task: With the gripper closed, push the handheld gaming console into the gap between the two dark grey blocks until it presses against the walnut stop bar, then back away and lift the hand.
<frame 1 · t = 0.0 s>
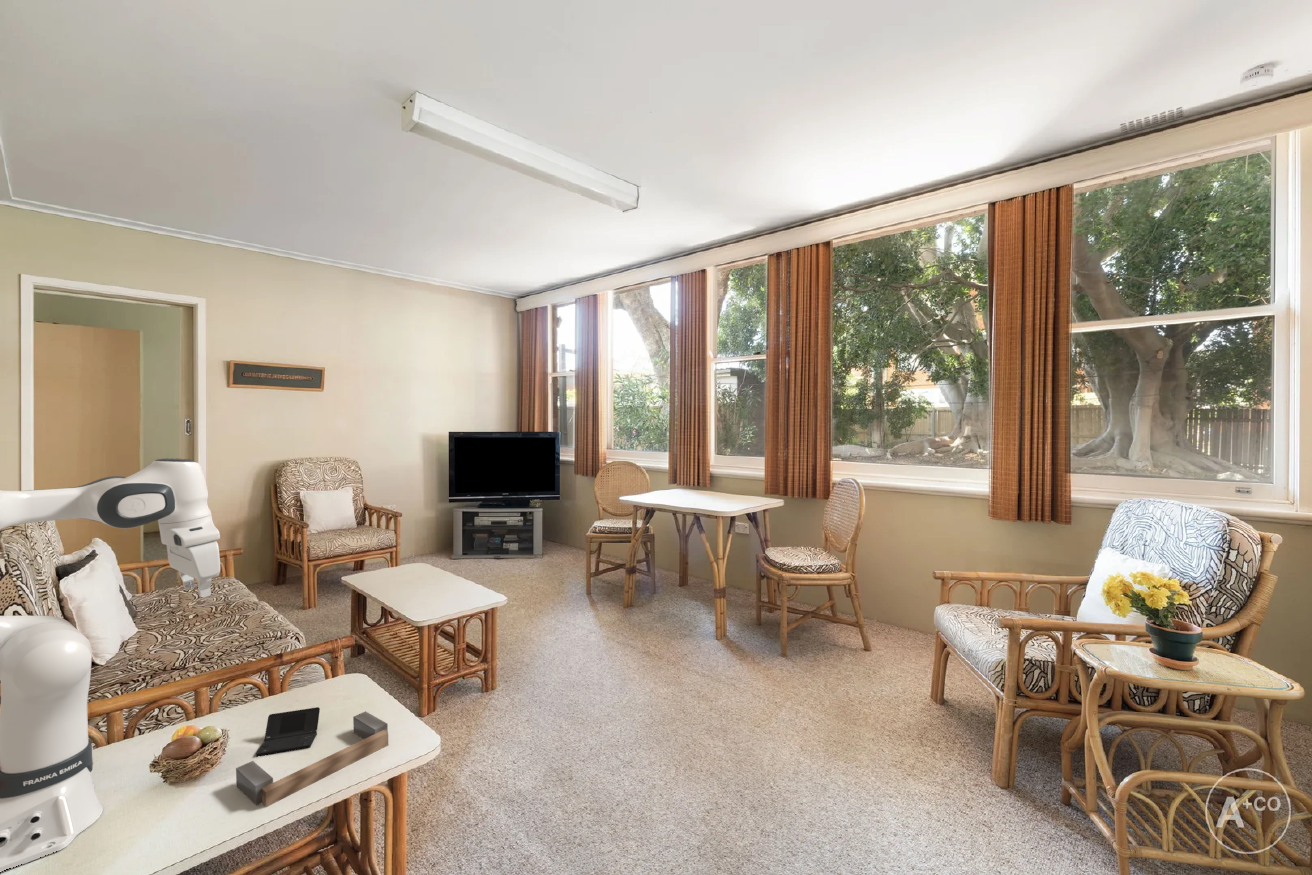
hand: (197, 592, 121), 39 cm above the table, tool pointing down, fingers open, 8 cm apart
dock: (315, 760, 123), on the table
handheld gaming console: (289, 743, 131), on the table
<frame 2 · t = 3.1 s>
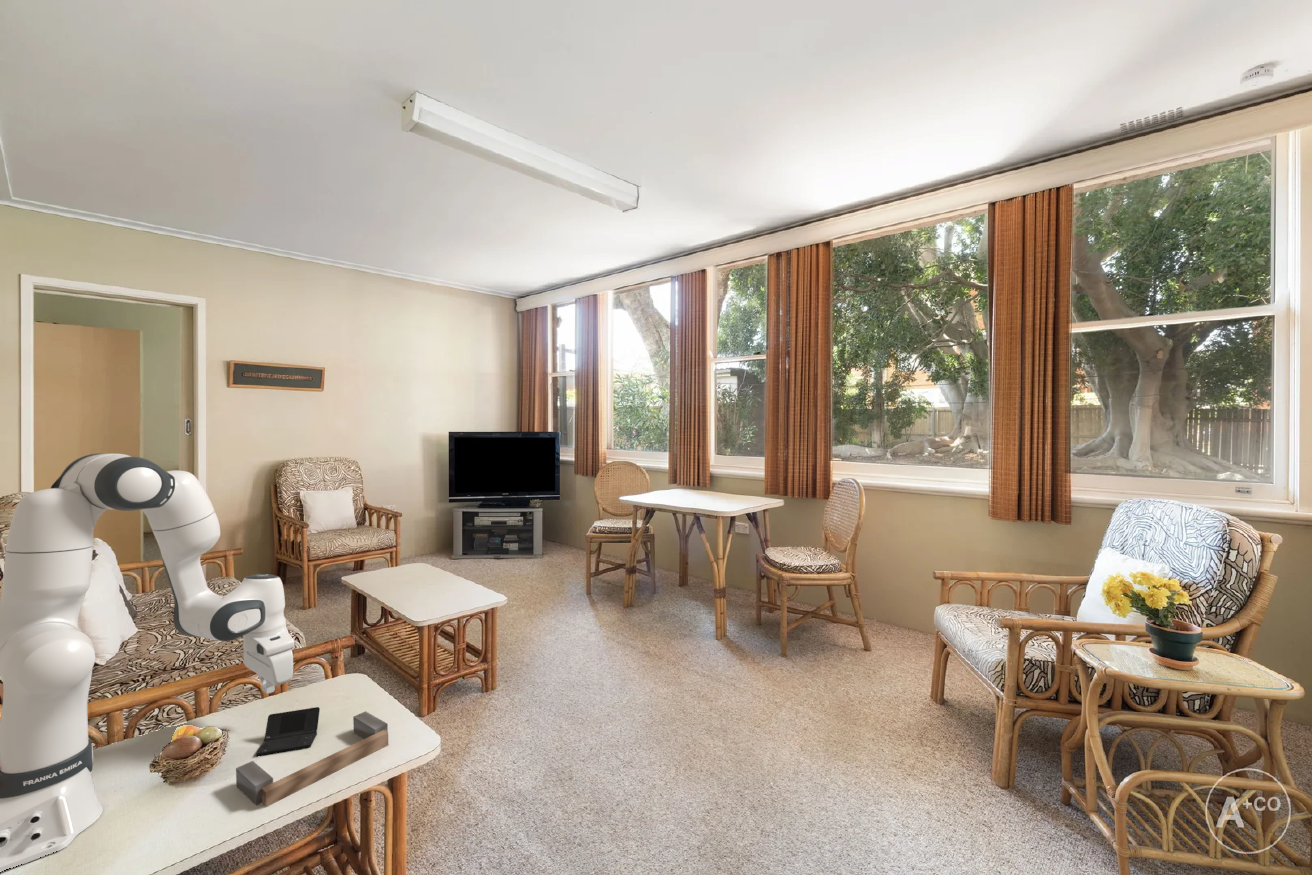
hand: (268, 691, 138), 8 cm above the table, tool pointing down, fingers closed
nothing on the table moved.
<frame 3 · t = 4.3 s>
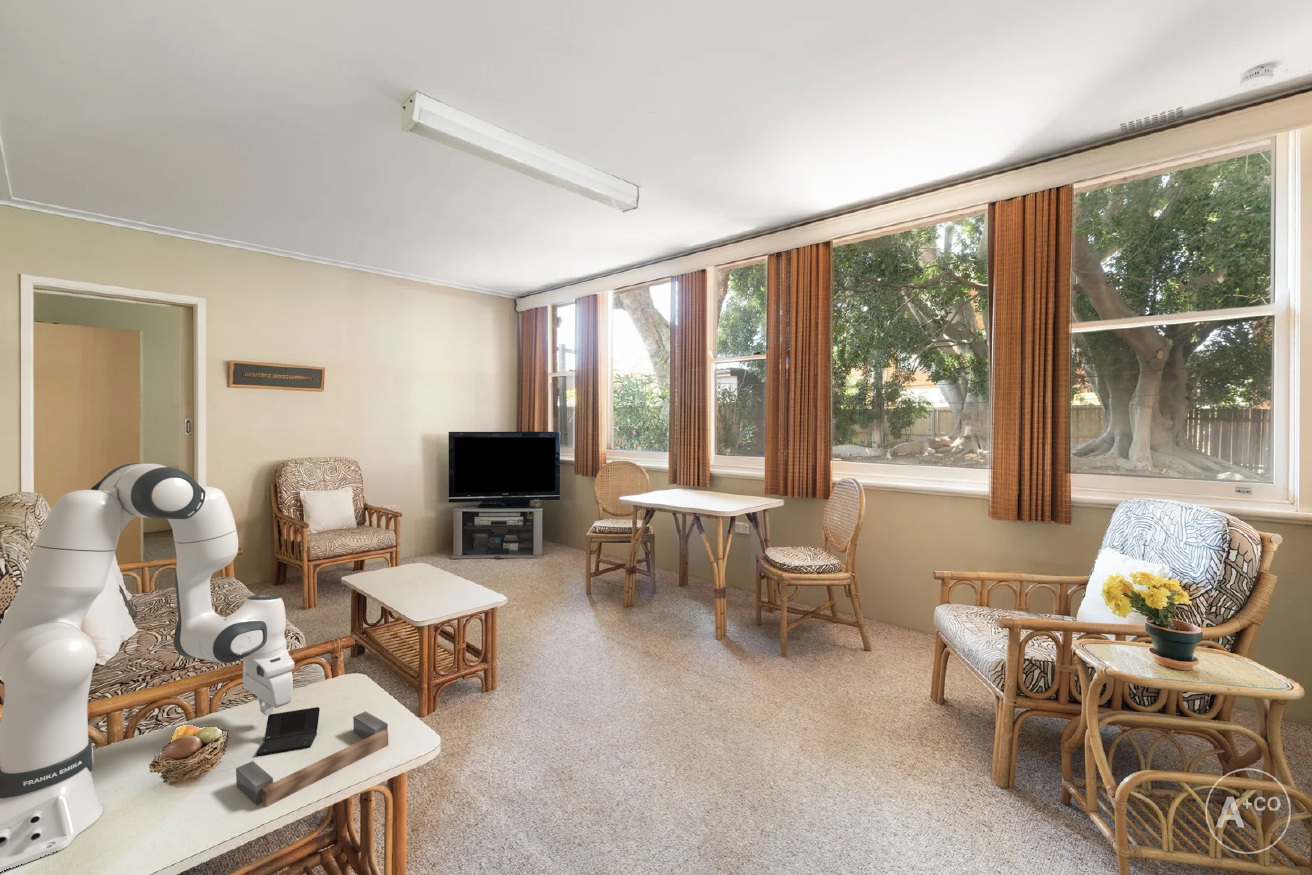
hand: (266, 713, 138), 3 cm above the table, tool pointing down, fingers closed
nothing on the table moved.
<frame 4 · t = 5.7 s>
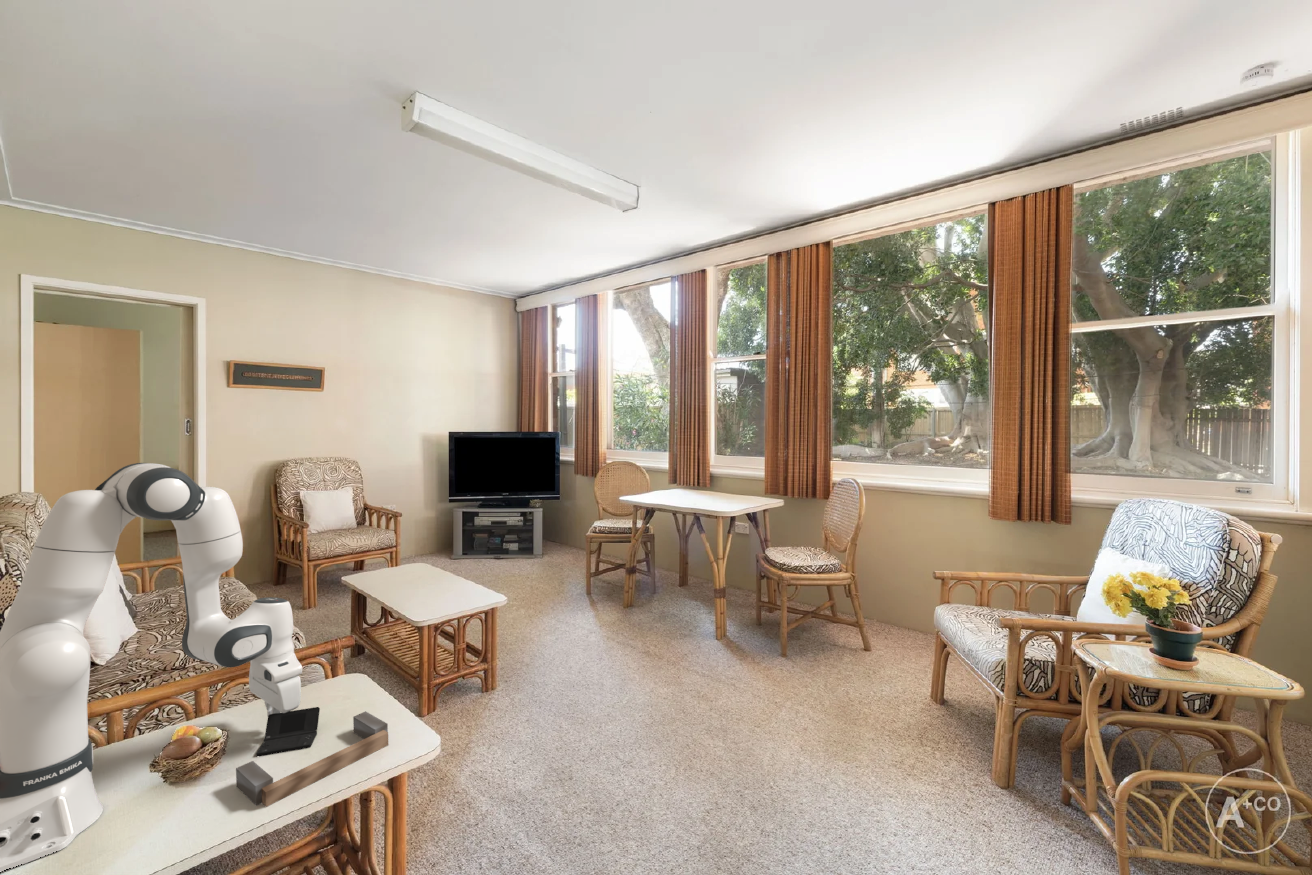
hand: (274, 718, 135), 3 cm above the table, tool pointing down, fingers closed
handheld gaming console: (289, 743, 131), on the table, touching gripper
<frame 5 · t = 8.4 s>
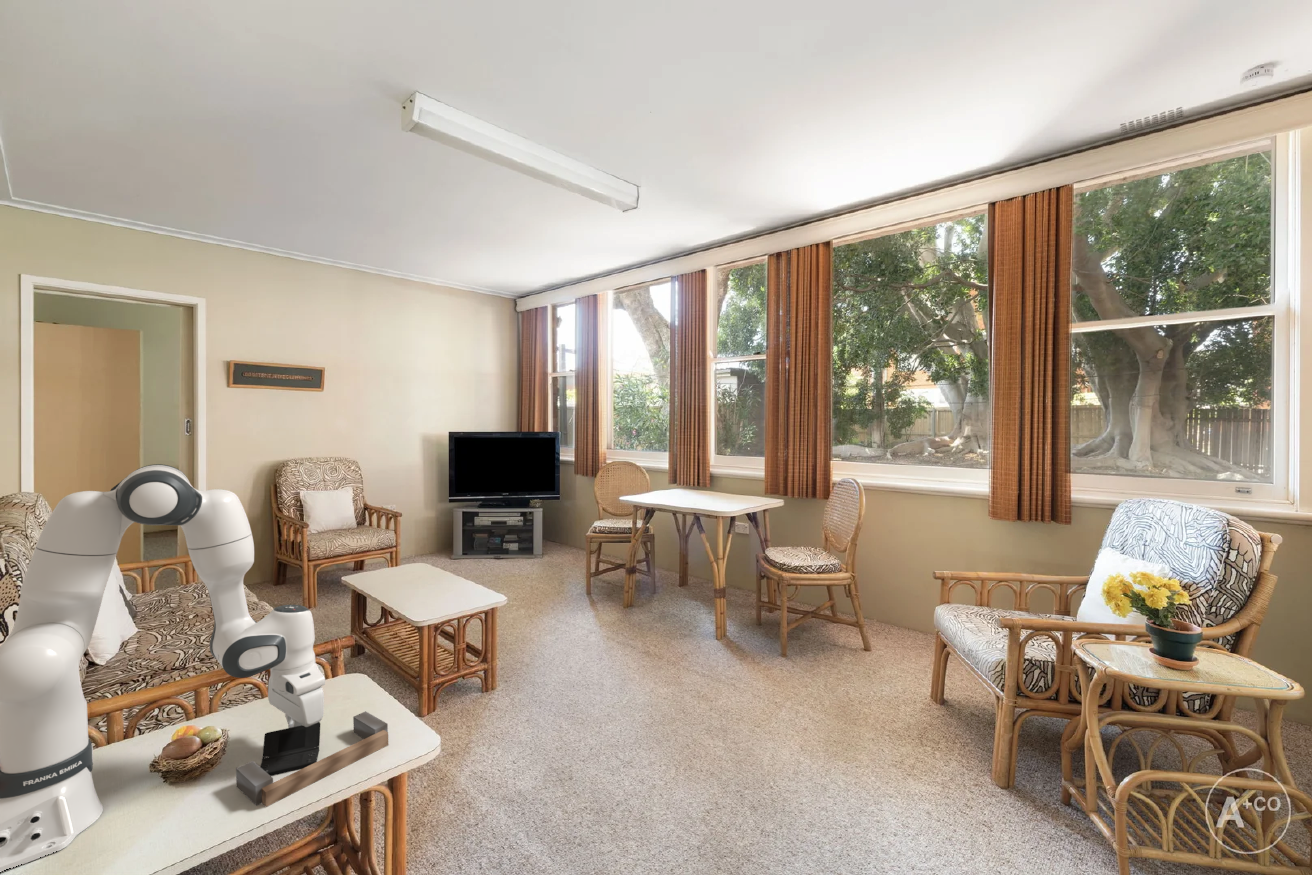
hand: (295, 731, 129), 3 cm above the table, tool pointing down, fingers closed
handheld gaming console: (290, 761, 123), on the table
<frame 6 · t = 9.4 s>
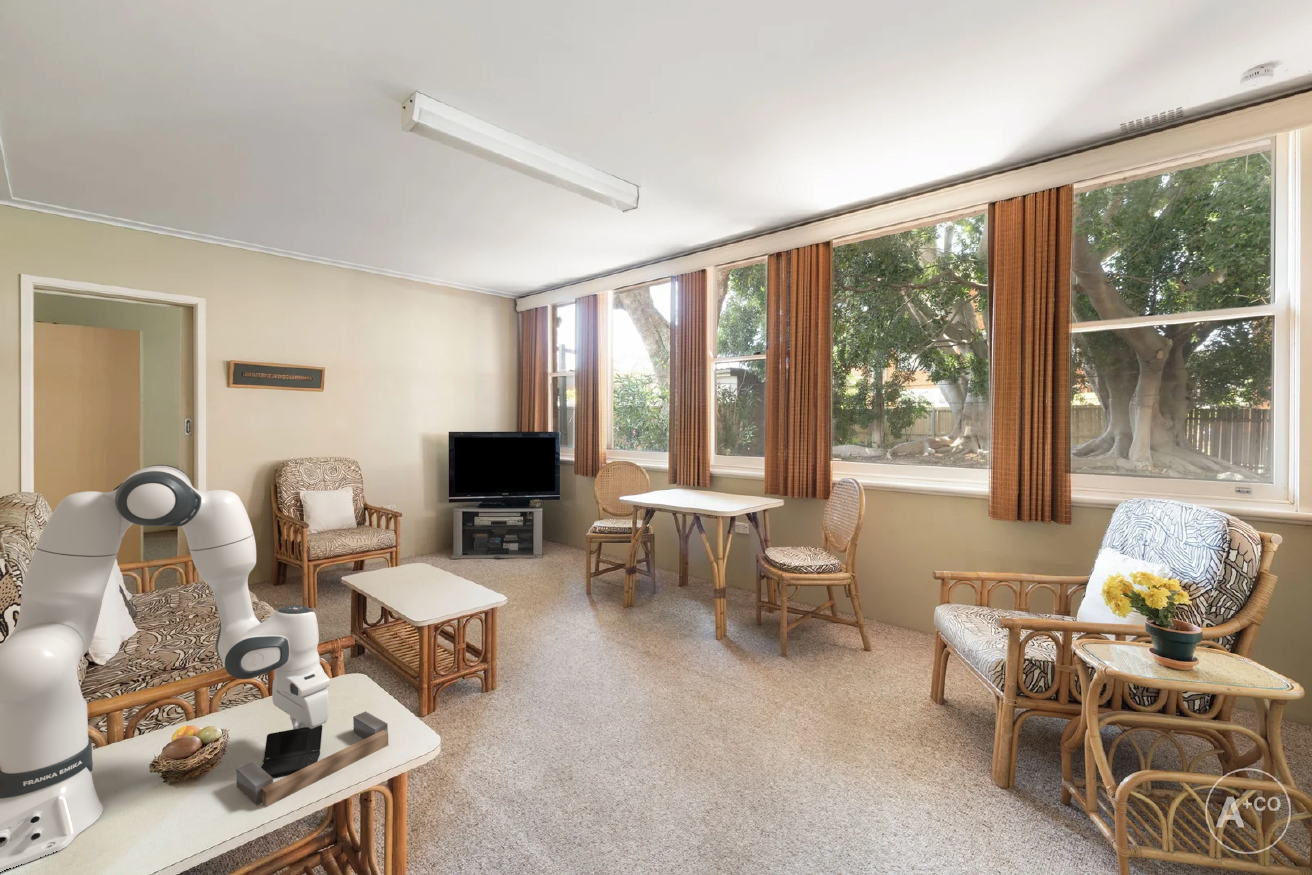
hand: (300, 733, 128), 3 cm above the table, tool pointing down, fingers closed
handheld gaming console: (291, 764, 122), on the table, touching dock, gripper
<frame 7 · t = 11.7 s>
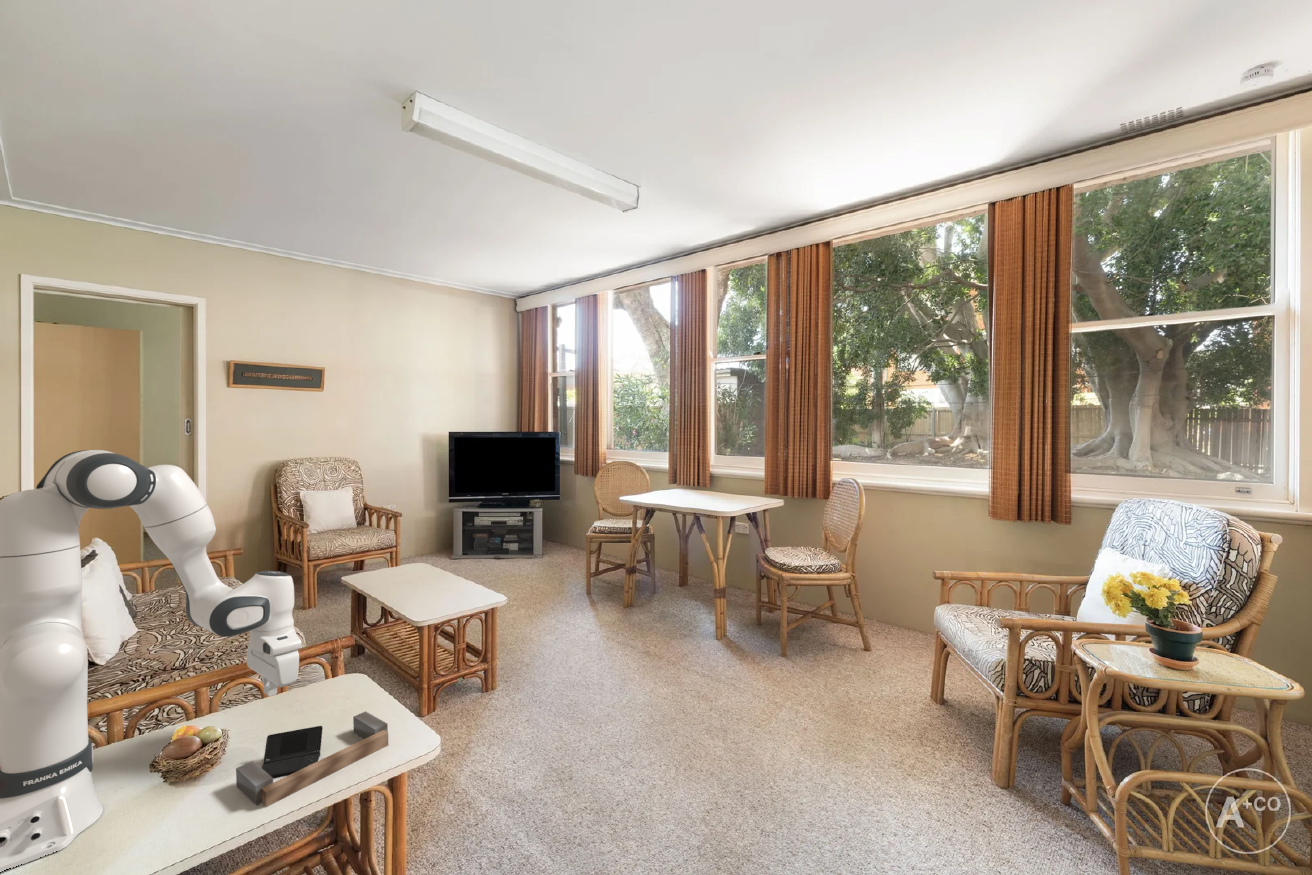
hand: (270, 693, 134), 10 cm above the table, tool pointing down, fingers closed
handheld gaming console: (291, 765, 122), on the table
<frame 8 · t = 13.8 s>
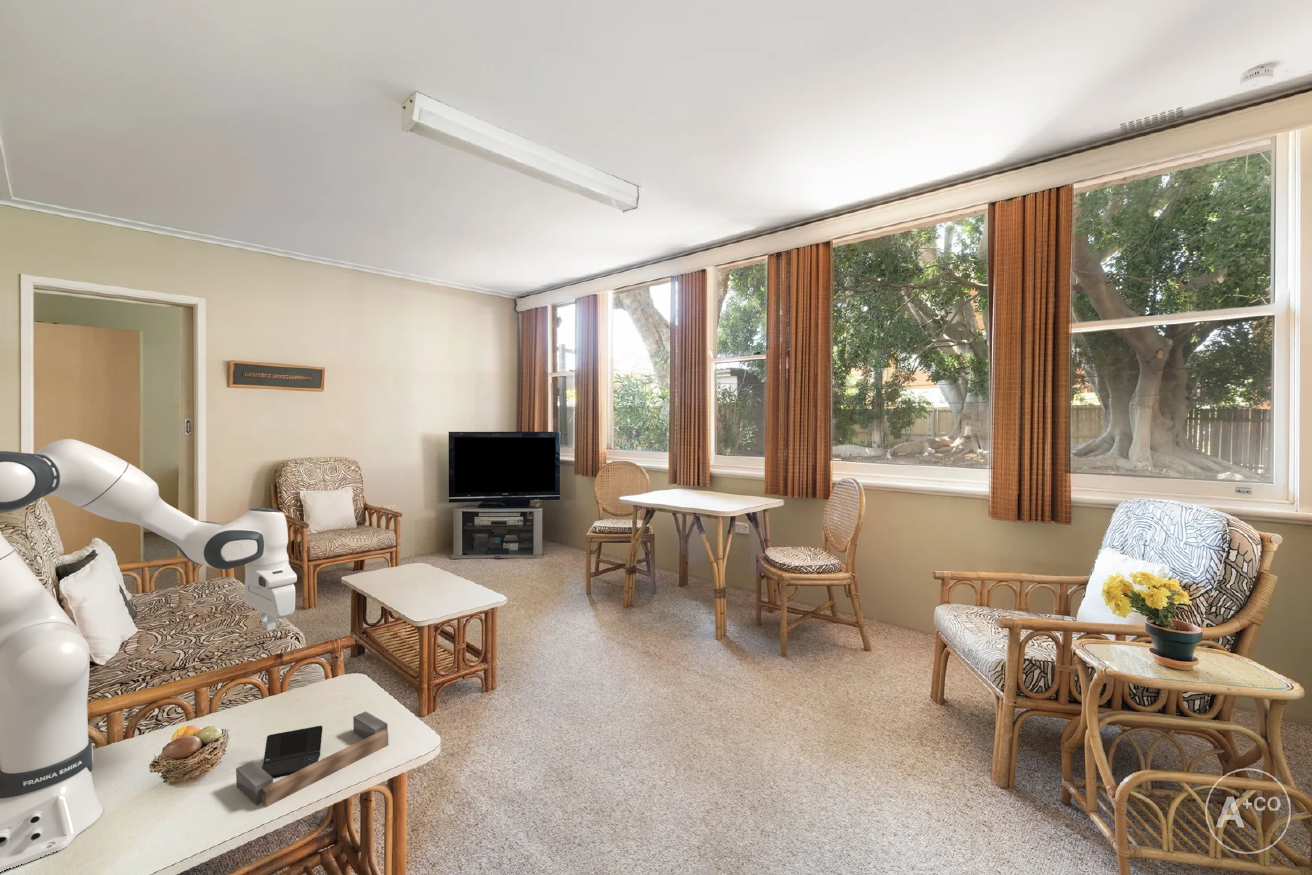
hand: (269, 628, 136), 25 cm above the table, tool pointing down, fingers closed
nothing on the table moved.
at the end: handheld gaming console inside the target area (4.5 cm from its centre), on the table; handheld gaming console tilted 2° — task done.
